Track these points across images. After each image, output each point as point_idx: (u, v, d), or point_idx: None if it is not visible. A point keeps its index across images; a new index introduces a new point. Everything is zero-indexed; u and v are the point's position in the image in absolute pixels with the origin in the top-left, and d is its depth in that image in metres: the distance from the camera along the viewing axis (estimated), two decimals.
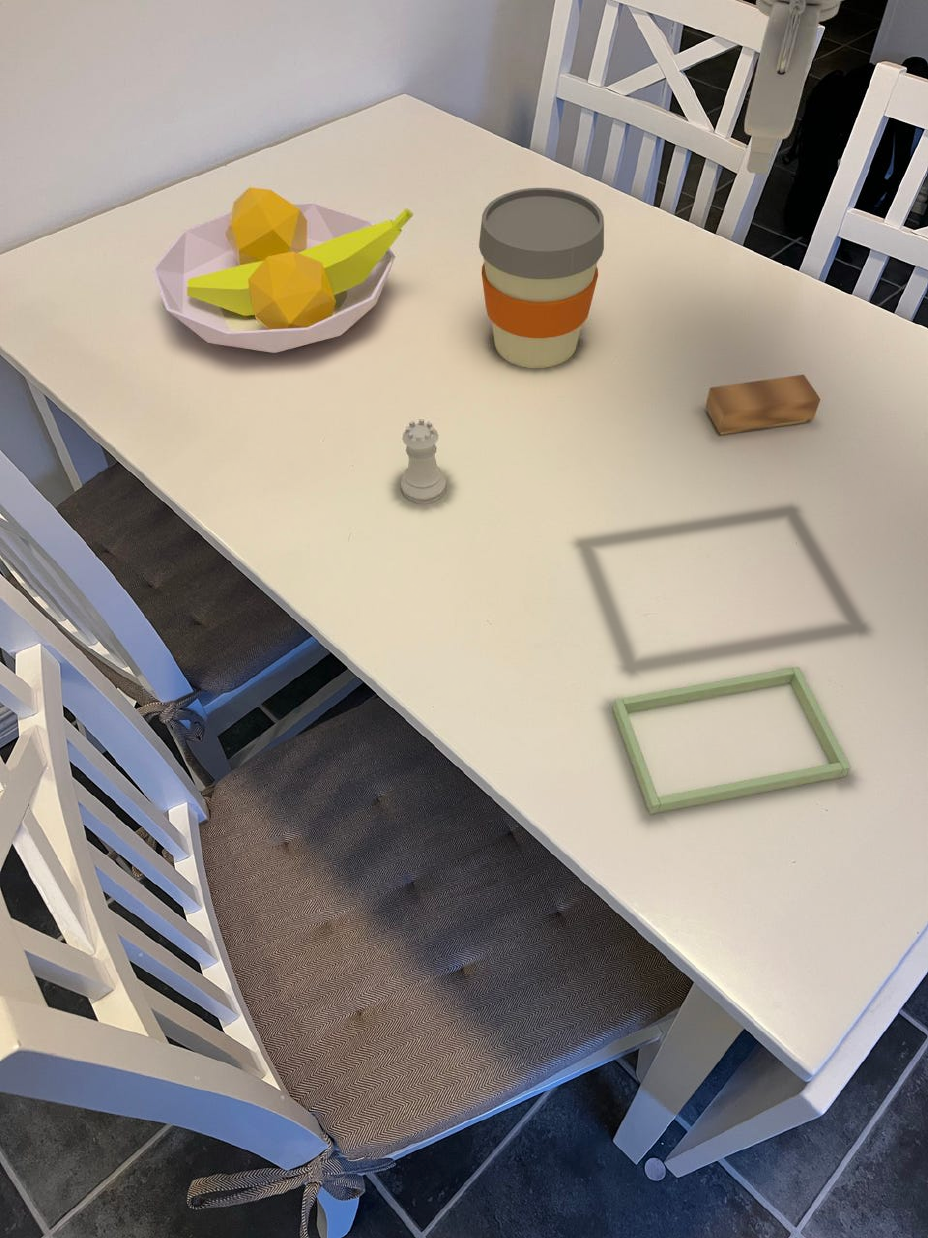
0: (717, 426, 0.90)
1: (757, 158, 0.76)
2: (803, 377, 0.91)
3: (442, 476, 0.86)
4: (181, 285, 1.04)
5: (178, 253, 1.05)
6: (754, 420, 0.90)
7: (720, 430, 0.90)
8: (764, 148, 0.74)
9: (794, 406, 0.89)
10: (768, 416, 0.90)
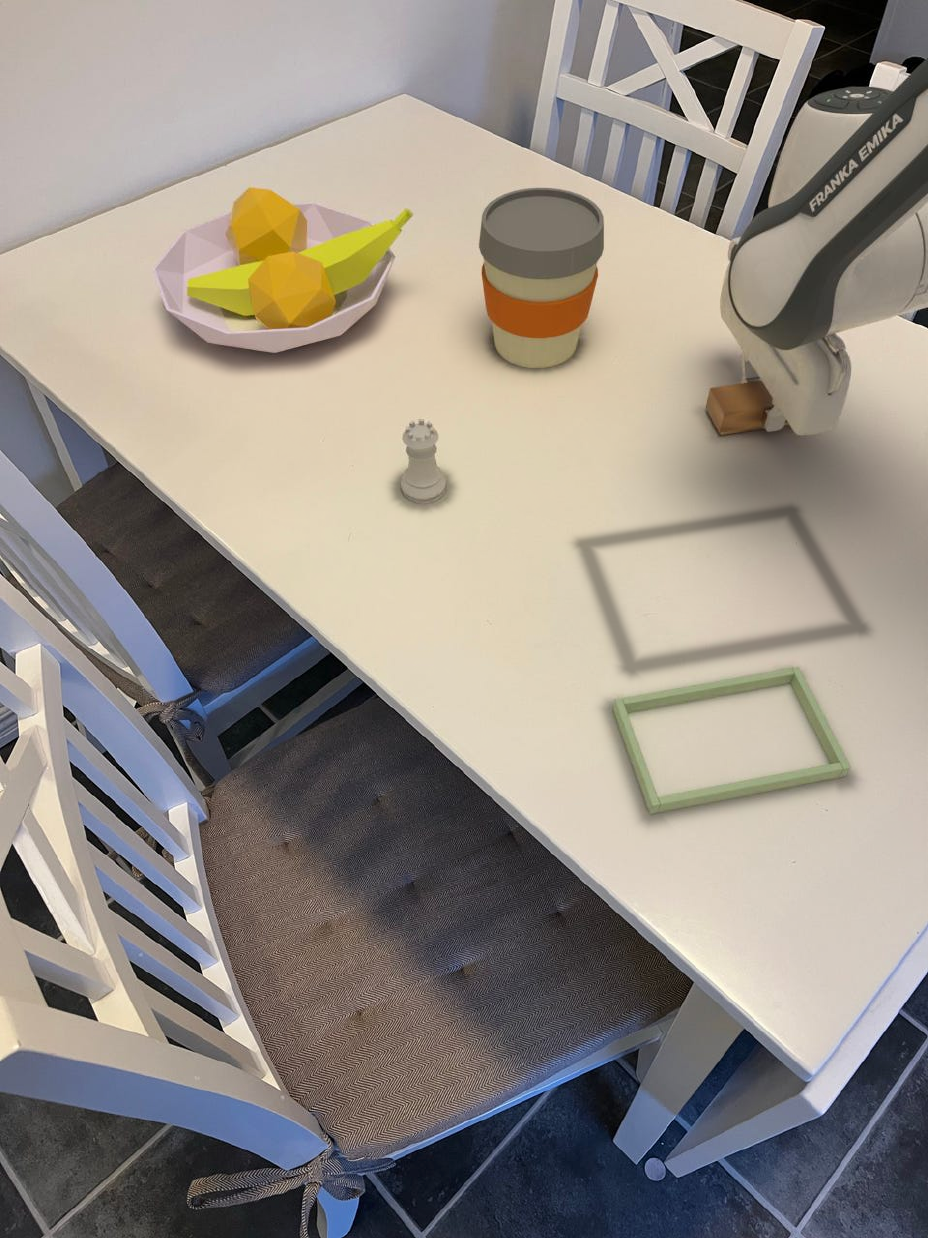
0: (717, 426, 0.90)
1: (775, 421, 0.88)
2: None
3: (442, 476, 0.86)
4: (181, 285, 1.04)
5: (178, 253, 1.05)
6: (754, 420, 0.90)
7: (720, 430, 0.90)
8: (783, 415, 0.87)
9: None
10: None
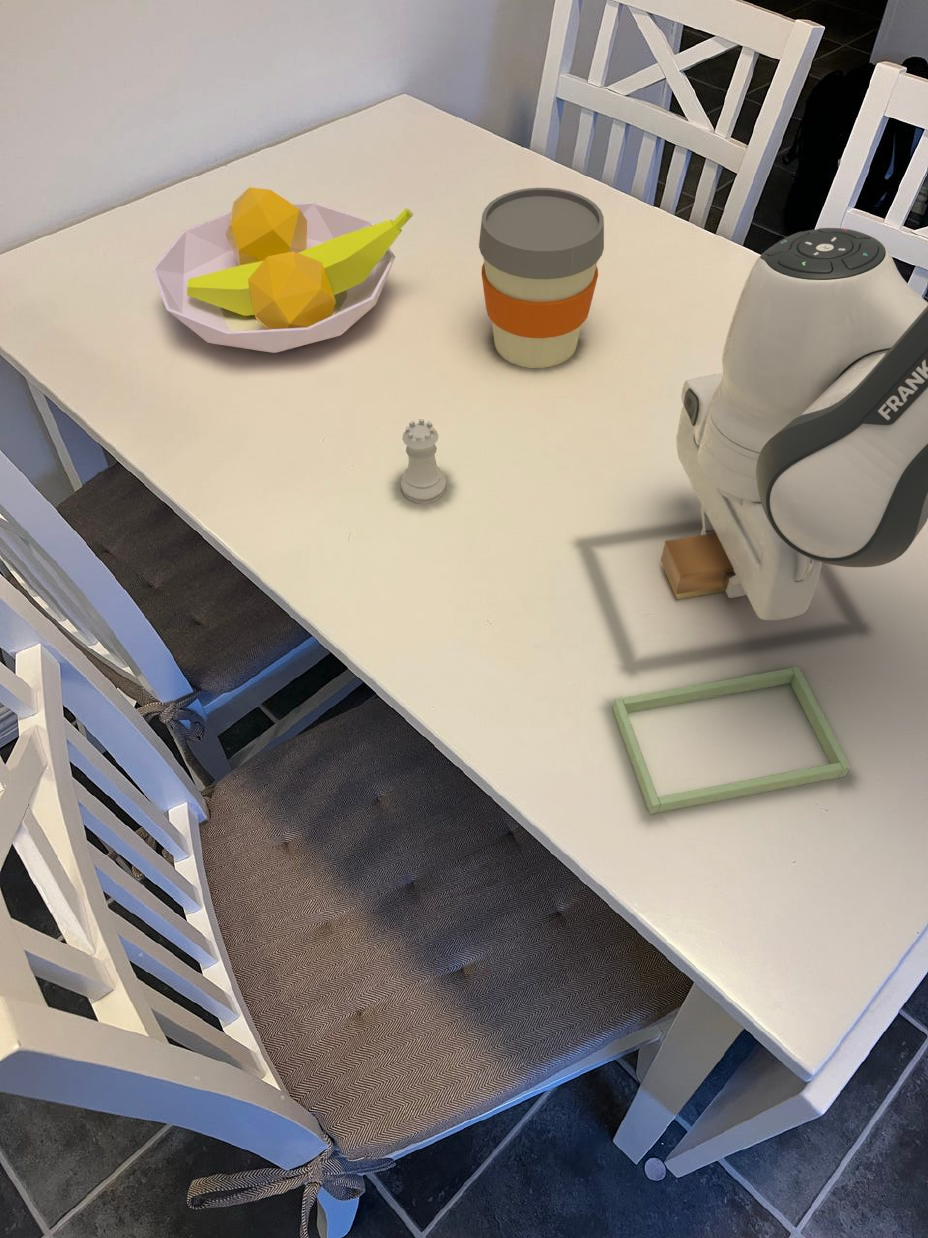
0: (673, 587, 0.77)
1: (737, 588, 0.76)
2: None
3: (442, 476, 0.86)
4: (181, 285, 1.04)
5: (178, 253, 1.05)
6: (717, 581, 0.77)
7: (677, 592, 0.77)
8: None
9: None
10: None
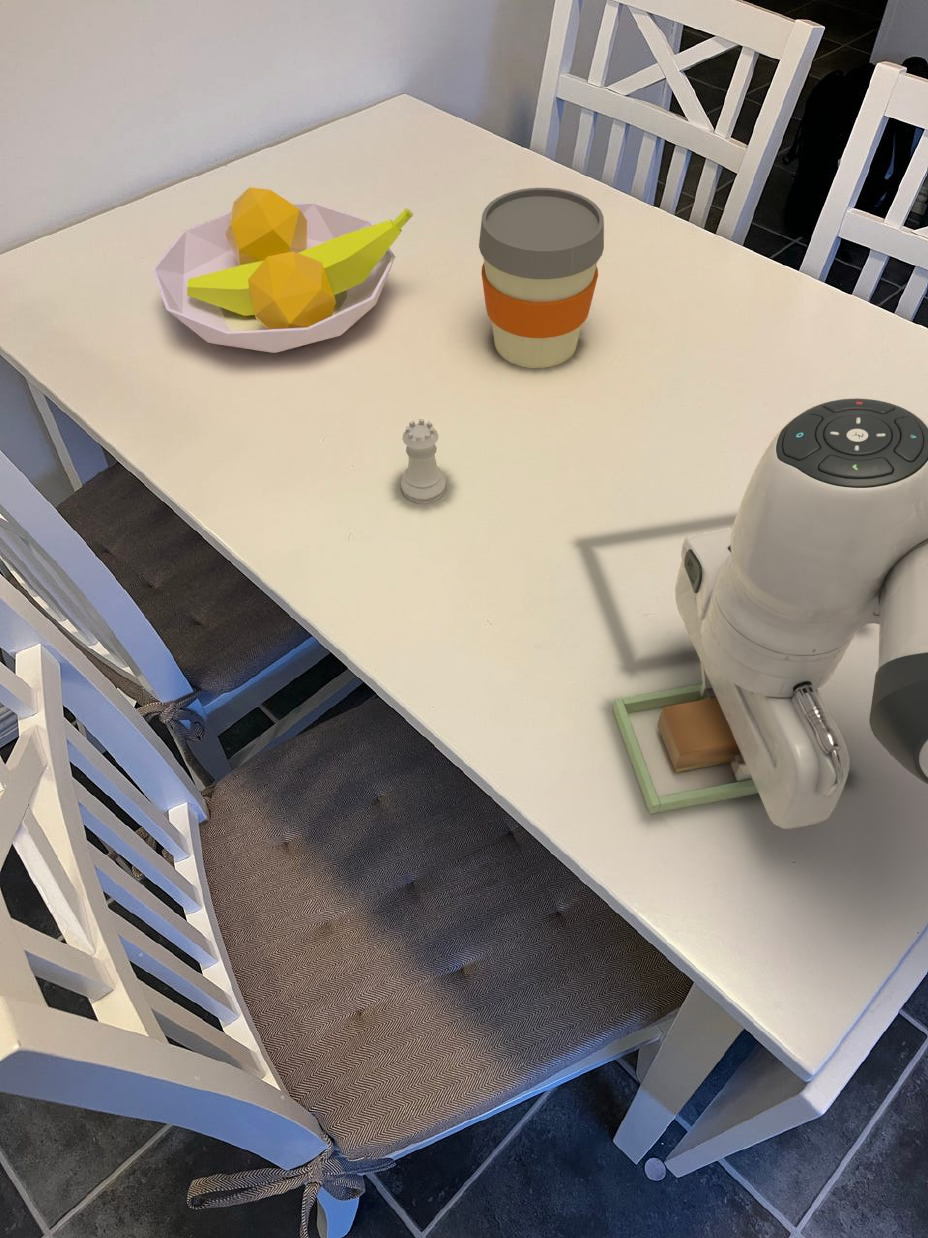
0: (672, 761, 0.67)
1: (749, 774, 0.65)
2: None
3: (442, 476, 0.86)
4: (181, 285, 1.04)
5: (178, 253, 1.05)
6: (722, 755, 0.66)
7: (676, 768, 0.67)
8: None
9: None
10: None
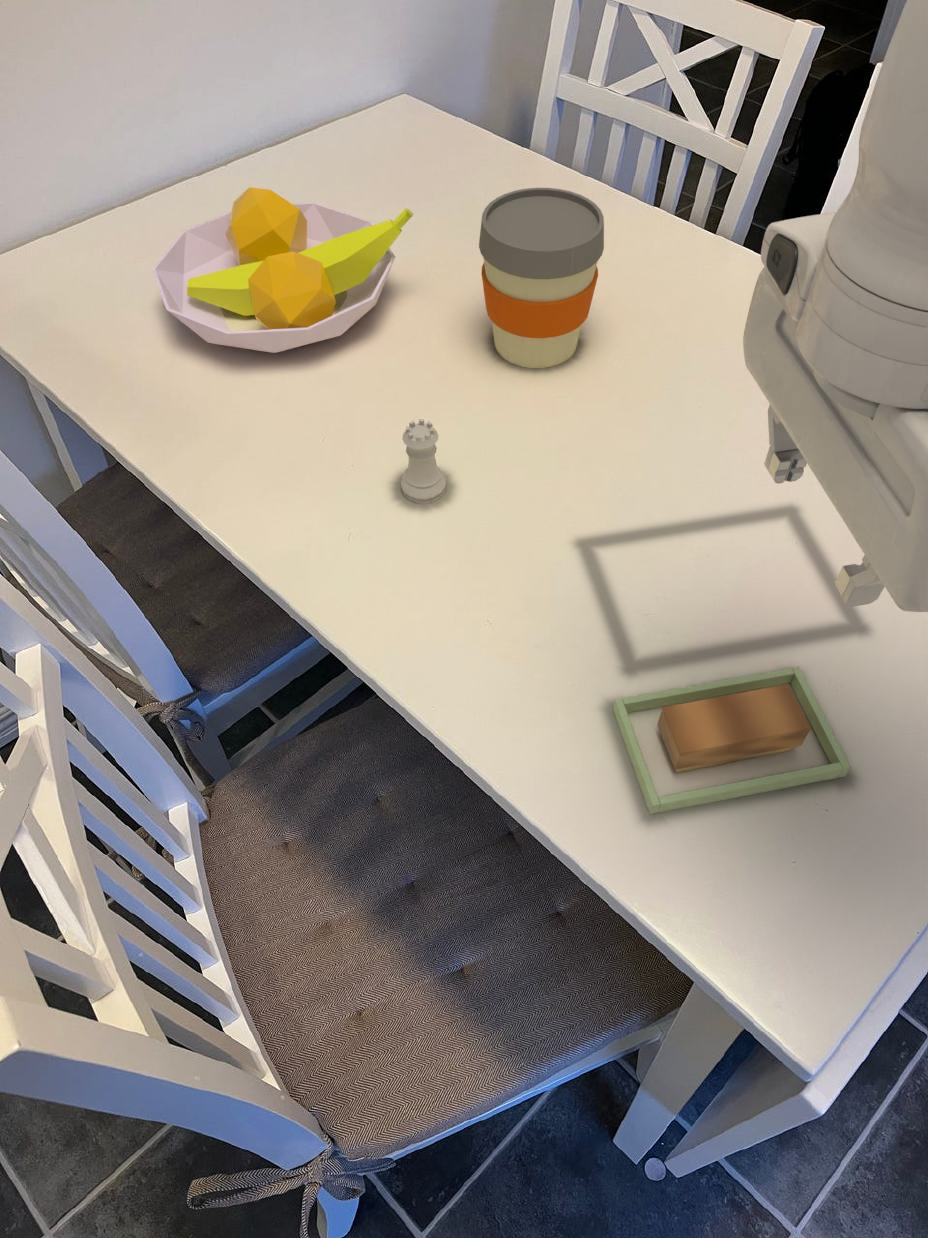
0: (672, 761, 0.67)
1: (864, 591, 0.47)
2: (788, 689, 0.68)
3: (442, 476, 0.86)
4: (181, 285, 1.04)
5: (178, 253, 1.05)
6: (722, 755, 0.66)
7: (676, 768, 0.67)
8: (881, 583, 0.46)
9: (775, 738, 0.66)
10: (740, 750, 0.66)
